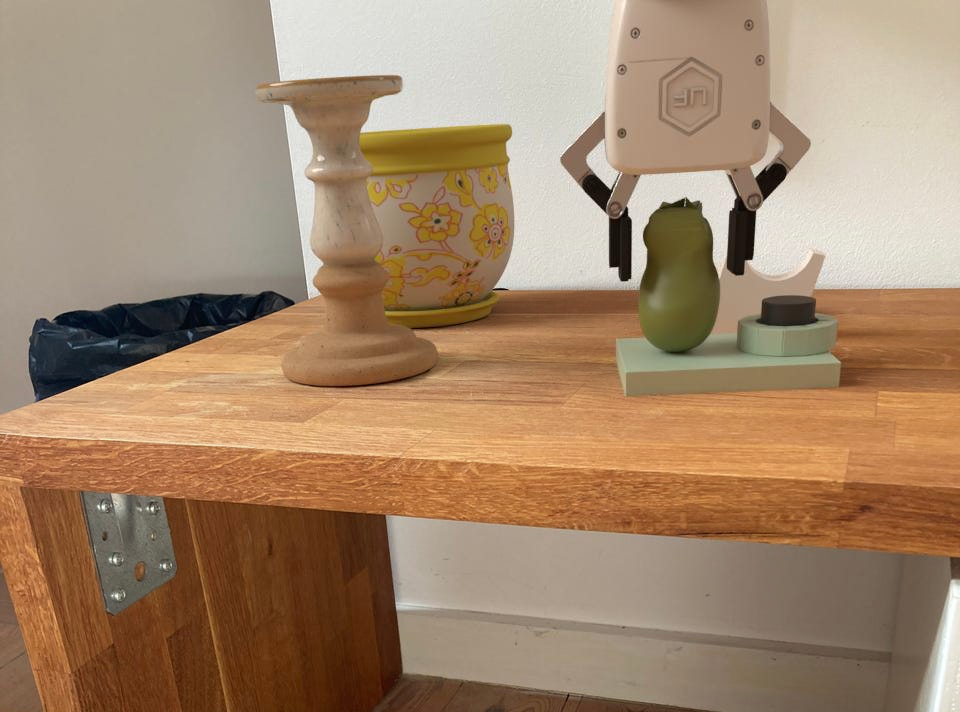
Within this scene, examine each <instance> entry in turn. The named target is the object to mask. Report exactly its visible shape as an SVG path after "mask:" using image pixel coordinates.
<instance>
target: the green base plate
mask: <svg viewBox="0 0 960 712" xmlns="http://www.w3.org/2000/svg"><path fill="white" fill-rule="evenodd" d="M760 321H761V314H755V315H749V316H746V317H744V318H742V319H740V320H738V327H737V333H728V334H710V335H709V336H708V338H707V339H706V340H705V341H704V342H703V343H702V344H700V345H699V346H697V347H695V348H693V349H691V350H688V351H683V352H668V351H664V350H661V349H658V348H656V347H655V346H653V345H652V344H651V343H650V342H649V341H648V340H647V339H646V338H645V336H644V337H628V338H627V337H626V338H625V337H624V338H615V364H616V367H617V370H618V375H619V378H620V382H621V386H622V390H623V394H624V396H625V397H643V396H646V397H647V396H665V395H666V396H667V395H689V394H691V395H692V394H710V393H711V394H712V393H716V394H717V393H734V392H735V393H736V392H757V391H759V392H760V391H761V392H763V391H780V390H781V391H783V390H784V391H785V390H804V389H805V390H806V389H827V388H828V389H829V388H839V387H840V379H841V369H842V361H840V360H839V359H838V358H836V356H834V355H833V354H832V353H831V352H830V351H831V350H833V349H834V348H835V347H836V346H837V336H838V335H837V334H838V325H839V320H838V319H837V318H836V317H834V316H833V315H831V314H825V313H818V312H815V320H814V324H809V325H803V326H769V325H764V324H760Z"/></svg>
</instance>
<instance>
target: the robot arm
mask: <svg viewBox="0 0 960 712" xmlns="http://www.w3.org/2000/svg"><path fill="white" fill-rule="evenodd" d="M612 7H613V8H612V14H611V18H610V19H611V20H610V26H609V36H608V37H609V38H608V49H607V57H606V71H605V73H606V74H605V75H606V76H605V91H604V93H605V94H604V109H603V110H602V111H601V112H600V113H599V114H598V115H597V116H596V117H595V118H594V119H593V120H592V121H591V122H590V123H589V124H588V125H587V126H586V128H584V130H583V131H581V133H579V135H578V136H577V137H576V138H575V139H574V140H573V141H572V142H571V143H570V144H569V145H568V146H567V147H566V148H565V149H564V150H563V151H562V152H561V154H560V157H559V161H560V164H561V166H562V167H563V168H564V169H565V170H566V172H567V173H568V174H569V175H570V176H571V177H572V179H573V180H574V181H575V183H577V185H578V186H579V187H580V188H581V189H582V190H583V192H584V193H585V194H586V195H587V196H588V197H589V198H590V199H591V200H592V201H593V202H594V203H595V204H596V205H597V206H598V207H599V208H600V209H601V210H602V211H603V212H604V213H605V214H606V215H607V216H608V268H609V269H614V268H617V270H618V271H617V272H618V273H617V274H618V278H619V281H620V282H621V283H622V282H623V283H625V282H629V280H632V274H633V273H632V272H633V270H632V266H633V265H632V264H633V263H632V262H633V259H632V257H633V220H632V218H631V217H630V215H629V207H628V204H629V201H630V200H631V198H632V195H633V193H634V191H635V189H636V187H637V185H638V182H639V181H640V178H641V176H644V175H645V176H646V175H665V174H682V173H697V172H713V171H714V172H715V171H724V172H725V175H726V177H727V180H728V182H729V184H730V186H731V189H732V191H733V193H734V196H735V198H734V200H733V201H734V203H733V207H732V208H731V210H729V212H728V226H727V227H728V228H727V229H728V230H727V248H726V251H727V269H728V270H729V271H730V272H731V273H732V274H734V275H735V276H740V275H744V269H745V261H746V260H747V261H753V259H754V255H755V240H756V225H757V211H758V210H759V209H761V207H762V206H763V204H764V202H765V201H766V200H767V199H768V198H769V196H771V195H772V194H773V192H775V190H776V189H777V188H778V187H779V186H780V185H781V184H783V182H784V181H785V179H786V178H787V176H788V174H789V173H790V172H791V171H792V170H794V168H795V167H796V166H797V165H798V163H799V162H800V160H801V159H802V158H803V157H804V156H805V155H806V154H807V152H808V151H809V150H810V148H811V144H812V142H811V139H810V138H809V137H808V136H807V135H806V134H805V133H804V132H803V131H802V130H801V129H800V128H799V127H798V126H797V125H796V124H795V123H794V122H793V121H792V120H791V119H789V117H787V116H786V115H785V114H784V113H783V112H782V111H781V110H780V109H779V108H778V107H777V106H776V105H774V104H773V102H771V45H770V44H771V43H770V25H769V22H770V21H769V10H768V0H614V3H613V6H612ZM770 135H771V137H773V139H775V140H776V141H777V142H778V144H779V149H778V151H777V153H776V154H775V155H774V157H773V158H772V159H771V161H770V162H769V163H768V164H766V165H765V166H764V168H763V169H762V170H761V171H760V172H759V173H757V175H756V176H755V174H754V173H753V170H752V168H751V166H753V165H755V164H757V163H759V162H760V161H762V160H763V158H765V156H766V154H767V151H768V146H769V140H770V139H769V138H770ZM603 140H604V150H605V153H604V154H605V158H606V161H607V164H609V165H610V167H611V168H612V169H614V170H615V171H617V174H616V176H615V179H614V181H613V183H612V185H611V187H609V186H607V184H606V183H605V182H603V180H602V179H601V178H600V177H598V175H597V174H596V173H595V171H594V170H593V169H592V168H591V167H590V166H589V164H588V163H587V159H588V156H589V154H590V153H592V151H593V150H594V149H595V148H596V147H597V146H599V144H600V143H601V142H603Z"/></svg>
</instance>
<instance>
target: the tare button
mask: <svg viewBox="0 0 960 712" xmlns="http://www.w3.org/2000/svg"><path fill="white" fill-rule="evenodd" d="M816 306H817V299H816V298H815V297H812V296H811V297H809V296H799V295H784V296H773V297H768V298H765V299H763V300H762V306H761V321H760V324H764V325H769V326H803V325H809V324H814V320H815V313H816V308H817V307H816Z"/></svg>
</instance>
